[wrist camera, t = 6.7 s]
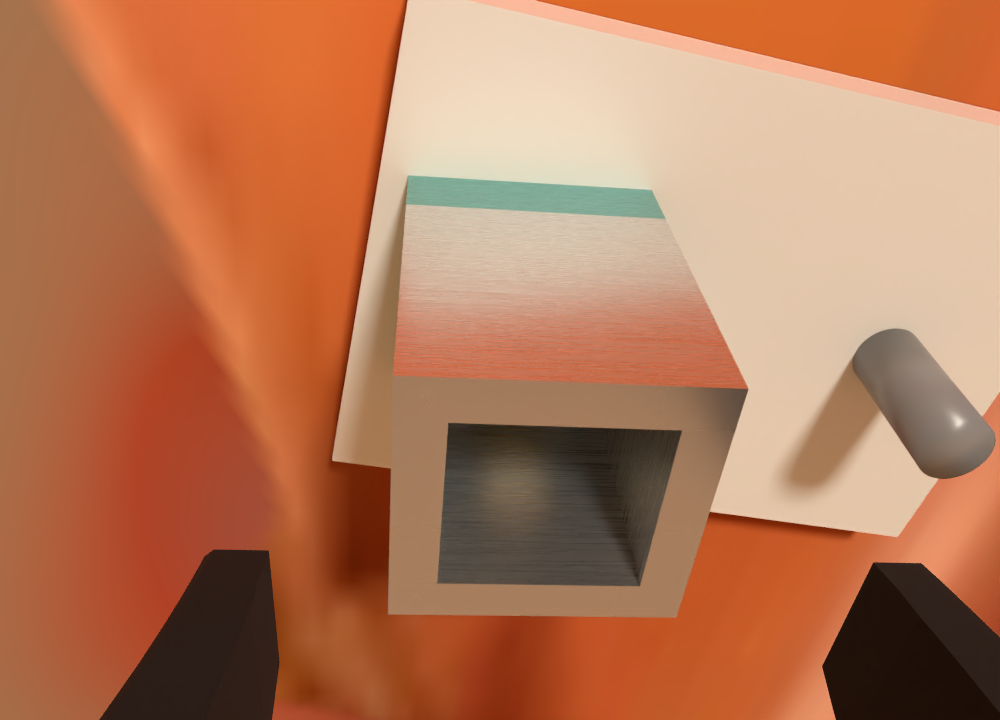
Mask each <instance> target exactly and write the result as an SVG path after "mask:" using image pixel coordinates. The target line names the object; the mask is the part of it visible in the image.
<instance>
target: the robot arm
mask: <svg viewBox="0 0 1000 720" xmlns="http://www.w3.org/2000/svg"><path fill="white" fill-rule="evenodd" d="M822 667H823V671H824V675H825V679H826V683H827V687H828V691H829V695H830V699H831V703H832V707H833V711H834V714H835V718H836V720H1000V637H999V636H998V635H997V634H995V633H994V632H993V631H992V630H991V629H990V628H989V627H988V626H987V625H986V624H985V623H984V622H983V621H982V620H981V619H980V618H979V617H978V616H977V615H976V614H975V613H974V612H973V611H972V610H971V609H970V608H968V607H967V606H966V605H965V604H964V603H963V602H962V601H961V600H960V599H959V598H958V597H957V596H956V595H955V594H954V593H953V592H952V591H951V590H950V589H949V588H947V587H946V586H945V585H944V584H943V583H942V582H941V581H940V580H939V579H938V578H937V577H936V576H935V575H933V574H932V573H931V572H930V571H929V570H928V569H927V568H926V567H925V566H924V565H922V564H921V563H873V565H872V567H871V569H870V571H869V573H868V575H867V577H866V579H865V581H864V583H863V585H862V587H861V589H860V591H859V593H858V595H857V597H856V599H855V601H854V603H853V605H852V607H851V609H850V611H849V613H848V615H847V617H846V619H845V621H844V623H843V625H842V627H841V629H840V631H839V633H838V635H837V637H836V639H835V641H834V643H833V646H832V648H831V650H830V652H829V654H828V656H827V658H826V660H825V662H824V664H823V666H822ZM278 669H279V653H278V643H277V632H276V622H275V611H274V601H273V590H272V580H271V570H270V559H269V551H260V550H213V551H212V552H210V553H209V554H208V555H206V556H205V557H204V559H203V560H202V562H201V564H200V566H199V568H198V569H197V571H196V573H195V575H194V577H193V578H192V580H191V582H190V583H189V585H188V587H187V588H186V590H185V592H184V593H183V595H182V597H181V599H180V600H179V602H178V603H177V605H176V607H175V608H174V610H173V612H172V613H171V615H170V616H169V618H168V620H167V621H166V623H165V624H164V626H163V628H162V629H161V631H160V632H159V634H158V635H157V637H156V638H155V640H154V641H153V643H152V645H151V646H150V647H149V649H148V651H147V652H146V654H145V655H144V657H143V658H142V660H141V661H140V663H139V664H138V666H137V667H136V668H135V670H134V671H133V673H132V674H131V675H130V677H129V678H128V680H127V681H126V683H125V684H124V686H123V687H122V688H121V690H120V691H119V693H118V694H117V696H116V697H115V698H114V700H113V701H112V703H111V704H110V705H109V707H108V708H107V710H106V711H105V713H104V714H103V716H102V717H101V718H100V720H272V714H273V707H274V699H275V692H276V684H277V677H278Z"/></svg>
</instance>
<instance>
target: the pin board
mask: <svg viewBox="0 0 1000 720" xmlns="http://www.w3.org/2000/svg"><path fill="white" fill-rule="evenodd" d="M408 175H411V176H428V177H444V178H461V179H477V180H494V181H511V182H527V183H544V184H561V185H577V186H594V187H611V188H627V189H644V190H652V192H653V194H654V196H655V198H656V200H657V202H658V204H659V206H660V208H661V210H662V212H663V214H664V216H665V218H666V220H667V222H668V224H669V227H670V229H671V231H672V233H673V235H674V237H675V239H676V241H677V243H678V245H679V247H680V249H681V251H682V253H683V255H684V257H685V259H686V261H687V263H688V265H689V268H690V270H691V272H692V274H693V276H694V278H695V280H696V282H697V284H698V286H699V288H700V290H701V292H702V294H703V296H704V298H705V300H706V302H707V304H708V306H709V309H710V311H711V313H712V315H713V317H714V319H715V321H716V323H717V325H718V327H719V329H720V331H721V333H722V335H723V337H724V339H725V341H726V343H727V345H728V348H729V350H730V352H731V354H732V356H733V358H734V360H735V362H736V364H737V366H738V368H739V370H740V372H741V374H742V376H743V378H744V380H745V382H746V384H747V386H748V389H749V390H748V393H747V396H746V399H745V402H744V405H743V408H742V412H741V415H740V418H739V421H738V424H737V427H736V430H735V434H734V437H733V440H732V443H731V446H730V449H729V453H728V456H727V459H726V462H725V465H724V468H723V471H722V475H721V478H720V481H719V484H718V487H717V490H716V494H715V497H714V500H713V503H712V506H711V509H710V512H716V513H723V514H731V515H738V516H746V517H753V518H760V519H768V520H775V521H783V522H790V523H797V524H805V525H812V526H820V527H827V528H834V529H842V530H849V531H857V532H864V533H871V534H879V535H886V536H894V537H898V536H899V534H900V533H901V531H902V530H903V529H904V527H905V526H906V524H907V523H908V522H909V520H910V519H911V517H912V516H913V514H914V513H915V512H916V510H917V509H918V507H919V506H920V504H921V503H922V502H923V500H924V499H925V497H926V496H927V495H928V493H929V492H930V490H931V489H932V487H933V486H934V485H935V483H936V482H937V480H938V479H947V478H954V477H958V476H961V475H964V474H966V473H968V472H970V471H972V470H974V469H975V468H977V467H978V466H980V465H981V464H982V463H983V462H984V461H985V460H986V459H987V458H988V457H989V456H990V454H991V453H992V451H993V449H994V446H995V441H996V440H995V434H994V431H993V430H992V429H991V427H990V426H989V425H988V424H987V422H986V421H985V420H984V419H983V418H982V416H983V415H984V413H985V412H986V411H987V409H988V408H989V406H990V405H991V404H992V402H993V401H994V399H995V398H996V396H997V395H998V394H999V392H1000V112H998V111H994V110H990V109H986V108H981V107H977V106H973V105H969V104H965V103H961V102H956V101H952V100H948V99H944V98H940V97H936V96H931V95H927V94H923V93H919V92H915V91H911V90H906V89H902V88H898V87H894V86H890V85H886V84H881V83H877V82H873V81H869V80H865V79H861V78H856V77H852V76H848V75H844V74H840V73H836V72H831V71H827V70H823V69H819V68H815V67H811V66H806V65H802V64H798V63H794V62H790V61H786V60H781V59H777V58H773V57H769V56H765V55H761V54H756V53H752V52H748V51H744V50H740V49H736V48H731V47H727V46H723V45H719V44H715V43H711V42H706V41H702V40H698V39H694V38H690V37H686V36H681V35H677V34H673V33H669V32H665V31H661V30H656V29H652V28H648V27H644V26H640V25H636V24H631V23H627V22H623V21H619V20H615V19H611V18H606V17H602V16H598V15H594V14H590V13H586V12H581V11H577V10H573V9H569V8H565V7H561V6H556V5H552V4H548V3H544V2H540V1H536V0H407V6H406V12H405V18H404V24H403V30H402V36H401V42H400V49H399V55H398V61H397V67H396V73H395V79H394V85H393V91H392V97H391V103H390V109H389V115H388V121H387V127H386V133H385V139H384V145H383V151H382V157H381V163H380V170H379V176H378V182H377V188H376V194H375V200H374V206H373V212H372V218H371V224H370V230H369V236H368V242H367V248H366V254H365V260H364V266H363V272H362V278H361V284H360V291H359V297H358V303H357V309H356V315H355V321H354V327H353V333H352V339H351V345H350V351H349V357H348V363H347V369H346V375H345V381H344V387H343V393H342V399H341V405H340V412H339V418H338V424H337V430H336V436H335V443H334V449H333V456H332V461H338V462H346V463H353V464H360V465H368V466H375V467H383V468H390V469H391V441H392V393H393V367H394V354H395V341H396V328H397V315H398V302H399V289H400V276H401V263H402V250H403V237H404V224H405V211H406V198H407V185H408Z"/></svg>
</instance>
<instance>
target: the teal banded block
mask: <svg viewBox="0 0 1000 720" xmlns="http://www.w3.org/2000/svg"><path fill="white" fill-rule="evenodd" d="M748 390H749V389H748V386H747V384H746V382H745V380H744V378H743V376H742V374H741V372H740V370H739V368H738V366H737V364H736V362H735V360H734V358H733V356H732V354H731V352H730V350H729V348H728V345H727V343H726V341H725V339H724V337H723V335H722V333H721V331H720V329H719V327H718V325H717V323H716V321H715V319H714V317H713V315H712V313H711V311H710V309H709V306H708V304H707V302H706V300H705V298H704V296H703V294H702V292H701V290H700V288H699V286H698V284H697V282H696V280H695V278H694V276H693V274H692V272H691V270H690V268H689V265H688V263H687V261H686V259H685V257H684V255H683V253H682V251H681V249H680V247H679V245H678V243H677V241H676V239H675V237H674V235H673V233H672V231H671V229H670V227H669V224H668V222H667V220H666V218H665V216H664V214H663V212H662V210H661V208H660V206H659V204H658V202H657V200H656V198H655V196H654V194H653V192H652V190H644V189H627V188H611V187H594V186H577V185H561V184H544V183H527V182H511V181H494V180H477V179H461V178H444V177H428V176H411V175H408V185H407V198H406V211H405V224H404V237H403V250H402V263H401V276H400V289H399V302H398V315H397V328H396V341H395V354H394V367H393V393H392V441H391V489H390V537H389V585H388V614H404V615H497V616H591V617H676V616H677V613H678V610H679V607H680V604H681V601H682V598H683V594H684V591H685V588H686V585H687V582H688V579H689V576H690V572H691V569H692V566H693V563H694V560H695V557H696V553H697V550H698V547H699V544H700V541H701V538H702V535H703V531H704V528H705V525H706V522H707V519H708V516H709V512H710V509H711V506H712V503H713V500H714V497H715V494H716V490H717V487H718V484H719V481H720V478H721V475H722V471H723V468H724V465H725V462H726V459H727V456H728V453H729V449H730V446H731V443H732V440H733V437H734V434H735V430H736V427H737V424H738V421H739V418H740V415H741V412H742V408H743V405H744V402H745V399H746V396H747V393H748Z"/></svg>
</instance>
